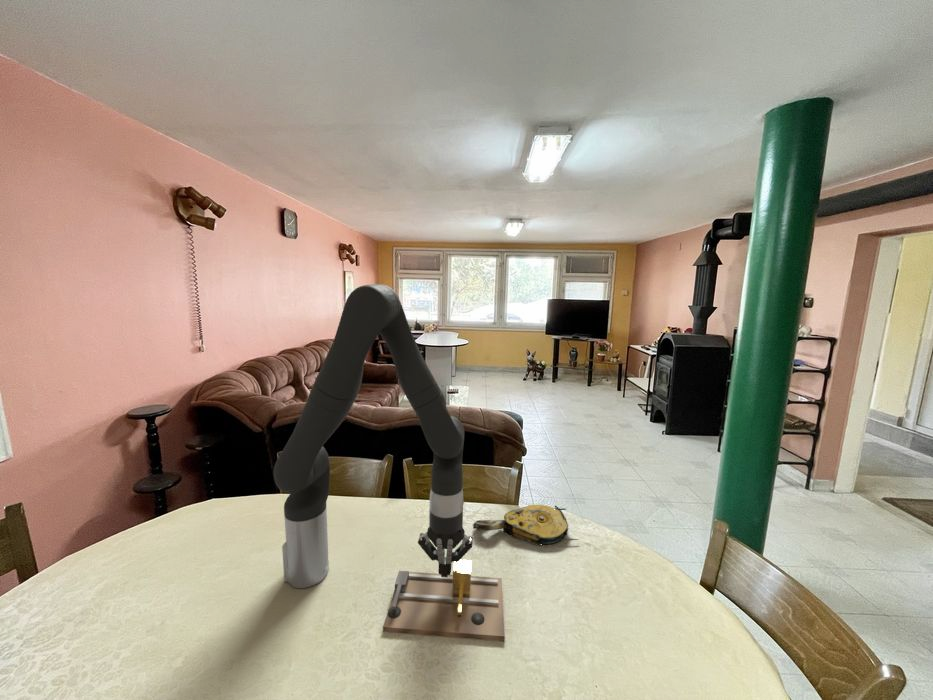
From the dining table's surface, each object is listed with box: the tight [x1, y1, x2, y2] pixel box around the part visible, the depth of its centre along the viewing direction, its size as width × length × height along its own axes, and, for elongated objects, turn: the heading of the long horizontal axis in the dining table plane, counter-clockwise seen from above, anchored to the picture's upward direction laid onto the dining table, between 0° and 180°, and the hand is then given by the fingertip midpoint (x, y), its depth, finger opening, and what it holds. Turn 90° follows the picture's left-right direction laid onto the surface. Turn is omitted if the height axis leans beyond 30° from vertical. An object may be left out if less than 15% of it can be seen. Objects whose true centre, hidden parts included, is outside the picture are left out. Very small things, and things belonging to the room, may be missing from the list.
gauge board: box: [382, 570, 506, 642], centre depth 81 cm, size 25×15×4 cm, turn 87°
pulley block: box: [472, 504, 580, 547], centre depth 107 cm, size 14×6×30 cm
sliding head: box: [452, 559, 472, 617], centre depth 80 cm, size 4×10×6 cm, turn 177°
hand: (444, 574), depth 83 cm, fingers closed
